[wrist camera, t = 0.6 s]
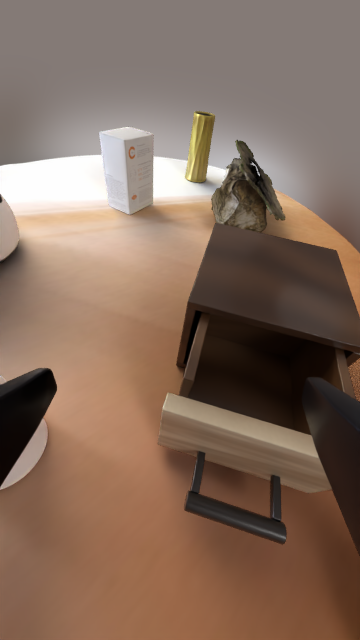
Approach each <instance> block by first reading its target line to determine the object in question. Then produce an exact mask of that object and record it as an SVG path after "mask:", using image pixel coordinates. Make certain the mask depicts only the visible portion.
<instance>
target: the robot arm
mask: <svg viewBox="0 0 360 640" xmlns="http://www.w3.org/2000/svg"><path fill="white" fill-rule="evenodd" d="M56 391H57V384H56V381H55V378H54V375H53V372H52V370H51V369H49V368H38V369H35V370H33V371H31V372H28V373H26V374H24V375H22V376H19V377H17V378H15V379H12V380H10V381H8V382H6V383H3V384H1V385H0V487H1V485H2V484H3V482H4V481H5V479H6V477H7V476H8V474H9V473H10V471H11V470H12V468H13V466H14V465H15V463H16V462H17V460H18V459H19V457H20V455H21V454H22V452H23V451H24V449H25V448H26V446H27V444H28V443H29V441H30V440H31V438H32V437H33V435H34V433H35V432H36V430H37V428H38V426H39V424H40V423H41V421H42V419H43V417H44V415H45V413H46V411H47V409H48V407H49V405H50V403H51V401H52V399H53V397H54V395H55V394H56ZM302 404H303V408H304V411H305V415H306V418H307V422H308V425H309V428H310V432H311V435H312V439H313V442H314V445H315V448H316V451H317V454H318V457H319V459H320V462H321V464H322V466H323V469H324V471H325V474H326V476H327V478H328V481H329V483H330V486H331V488H332V491H333V493H334V495H335V498H336V500H337V503H338V505H339V507H340V510H341V512H342V515H343V517H344V520H345V522H346V524H347V527H348V529H349V532H350V534H351V537H352V539H353V541H354V544H355V546H356V549H357V551H358V553H359V556H360V402H359V401H357V400H356V399H354V398H353V397H351V396H349V395H348V394H346V393H345V392H343V391H342V390H340V389H338V388H337V387H335V386H334V385H332V384H330V383H329V382H327V381H326V380H324V379H322V378H320V377H308V378H306V380H305V384H304V389H303V394H302Z"/></svg>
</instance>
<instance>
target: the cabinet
mask: <svg viewBox="0 0 360 640" xmlns="http://www.w3.org/2000/svg"><path fill="white" fill-rule="evenodd" d="M201 312H205V313H209V314H212V315H216V316H220V317H224V318H227V319H231V320H235V321H239V322H242V323H246V324H250V325H254V326H258V327H261V328H265V329H269V330H273V331H276V332H280V333H284V334H288V335H291V336H295V337H299V338H303V339H306V340H310V341H314V342H318V343H322V344H325V345H329V346H333V347H337V348H340V349H343V350H344V353H345V357H346V361H347V365H348V366H350V365H351V364H352V363H354V362H355V361H356V360H358V359H359V358H360V317H359V314H358V311H357V308H356V305H355V302H354V300H353V297H352V294H351V291H350V288H349V285H348V282H347V279H346V276H345V274H344V271H343V268H342V265H341V262H340V259H339V256H338V253H337V251H336V250H333V249H328V248H324V247H320V246H315V245H311V244H307V243H302V242H298V241H293V240H289V239H285V238H280V237H276V236H272V235H267V234H263V233H259V232H254V231H250V230H245V229H241V228H237V227H232V226H228V225H224V224H219V223H215V225H214V228H213V231H212V234H211V237H210V240H209V243H208V245H207V248H206V251H205V254H204V257H203V260H202V263H201V265H200V268H199V271H198V274H197V277H196V280H195V283H194V285H193V288H192V291H191V294H190V297H189V300H188V304H187V309H186V315H185V320H184V325H183V331H182V336H181V341H180V347H179V352H178V358H177V363H176V365H177V366H180V367H184V368H186V366H187V362H188V358H189V355H190V351H191V348H192V344H193V341H194V337H195V333H196V330H197V326H198V323H199V319H200V316H201Z"/></svg>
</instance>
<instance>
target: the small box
mask: <svg viewBox="0 0 360 640" xmlns="http://www.w3.org/2000/svg"><path fill="white" fill-rule="evenodd" d="M99 136H100V143H101V151H102V158H103V166H104V173H105V181H106V188H107V195H108V203H109V206H111V207H113V208H115V209H117V210H120V211H122V212H124V213H126V214H129V215H131V214H133V213H135V212H137V211H139V210H141V209H143V208H145V207H147V206H149V205H151V204H153V136H154V135H153V134H152V133H149V132H146V131H142V130H139V129H136V128H132V127H124V128H119V129H113V130H108V131H102V132H99Z"/></svg>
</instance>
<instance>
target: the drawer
mask: <svg viewBox="0 0 360 640" xmlns="http://www.w3.org/2000/svg"><path fill="white" fill-rule="evenodd" d="M308 377H320V378H322V379H324V380H326V381H327V382H329V383H330V384H332V385H334V386H335V387H337V388H338V389H340V390H342V391H343V392H345V393H346V394H348V395H349V396H351V397H353V398H354V399H356V397H355V393H354V389H353V385H352V381H351V377H350V373H349V369H348V365H347V361H346V357H345V353H344V350H343V349H340V348H337V347H333V346H329V345H325V344H322V343H318V342H314V341H310V340H306V339H303V338H299V337H295V336H291V335H288V334H284V333H280V332H276V331H273V330H269V329H265V328H261V327H258V326H254V325H250V324H246V323H242V322H239V321H235V320H231V319H227V318H224V317H220V316H216V315H212V314H209V313H205V312H201V316H200V319H199V323H198V326H197V330H196V333H195V337H194V341H193V344H192V348H191V351H190V355H189V358H188V362H187V366H186V369H185V373H184V376H183V380H182V384H181V388H180V392H179V396H178V395H175V394H172V393H167V396H166V399H165V402H164V405H163V409H162V415H161V423H160V430H159V438H158V445H161V446H164V447H167V448H170V449H173V450H176V451H179V452H183V453H186V454H189V455H192V456H195V457H197V458H196V463H195V468H194V473H193V479H192V484H191V489H190V491H188V492H187V495H186V499H185V504H184V510H185V511H187V512H190V513H193V514H196V515H198V516H201V517H204V518H207V519H210V520H213V521H216V522H219V523H222V524H224V525H227V526H230V527H233V528H236V529H239V530H242V531H245V532H247V533H250V534H253V535H256V536H259V537H262V538H265V539H268V540H271V541H273V542H276V543H279V544H282V545H283V544H285V542H286V527H285V524H284V523H283V522H281V485H284V486H288V487H291V488H294V489H297V490H300V491H303V492H306V493H314V492H320V491H326V490H332V488H331V486H330V483H329V481H328V478H327V476H326V474H325V471H324V469H323V466H322V464H321V462H320V459H319V457H318V454H317V451H316V448H315V445H314V442H313V439H312V435H311V432H310V428H309V425H308V422H307V418H306V415H305V411H304V408H303V404H302V394H303V389H304V384H305V380H306V378H308ZM205 460H207V461H210V462H213V463H217V464H220V465H223V466H226V467H229V468H232V469H235V470H238V471H241V472H244V473H247V474H250V475H254V476H257V477H260V478H263V479H266V480H269V481H270V518H269V517H266V516H263V515H260V514H257V513H254V512H251V511H248V510H245V509H242V508H239V507H236V506H233V505H230V504H227V503H225V502H222V501H219V500H216V499H213V498H210V497H207V496H204V495H201V494H198V493H199V491H200V485H201V479H202V473H203V467H204V461H205Z"/></svg>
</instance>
